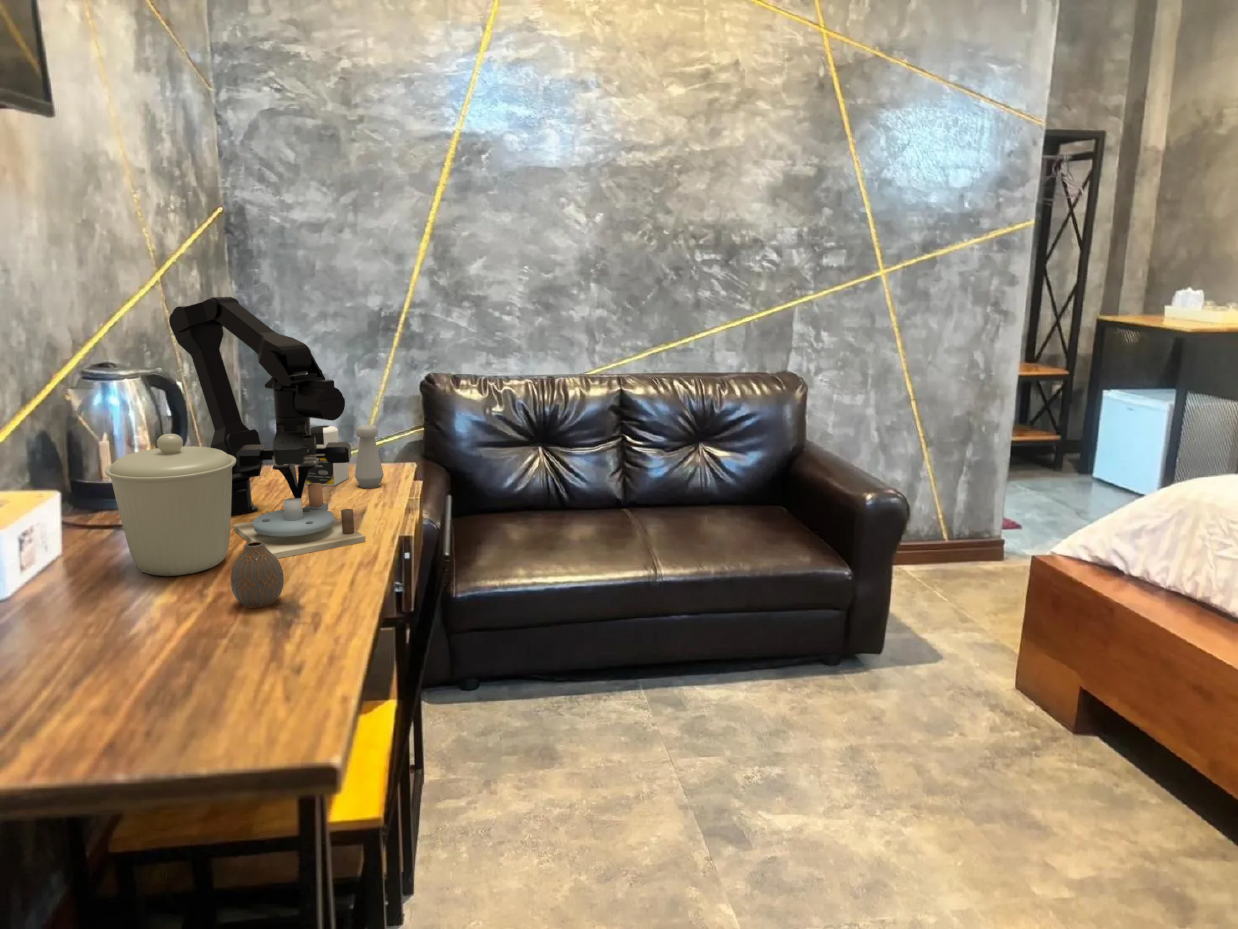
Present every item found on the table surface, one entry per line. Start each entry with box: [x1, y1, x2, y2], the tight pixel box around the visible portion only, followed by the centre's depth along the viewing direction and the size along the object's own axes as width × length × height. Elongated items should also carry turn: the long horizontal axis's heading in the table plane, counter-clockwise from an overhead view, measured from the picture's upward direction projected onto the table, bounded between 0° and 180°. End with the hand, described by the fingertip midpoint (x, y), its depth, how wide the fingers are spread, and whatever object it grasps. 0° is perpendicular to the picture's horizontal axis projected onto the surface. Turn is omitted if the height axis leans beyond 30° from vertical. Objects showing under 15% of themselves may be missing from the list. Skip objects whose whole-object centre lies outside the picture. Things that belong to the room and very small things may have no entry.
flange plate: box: [253, 483, 335, 537], centre depth 156 cm, size 16×13×5 cm
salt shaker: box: [354, 424, 385, 489], centre depth 190 cm, size 6×6×13 cm
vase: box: [230, 541, 285, 609], centre depth 127 cm, size 7×7×9 cm
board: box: [232, 508, 366, 560], centre depth 157 cm, size 20×16×5 cm
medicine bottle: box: [305, 425, 350, 487], centre depth 194 cm, size 7×7×12 cm
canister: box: [104, 433, 236, 577], centre depth 140 cm, size 18×18×21 cm
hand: (298, 500), depth 163 cm, fingers closed
